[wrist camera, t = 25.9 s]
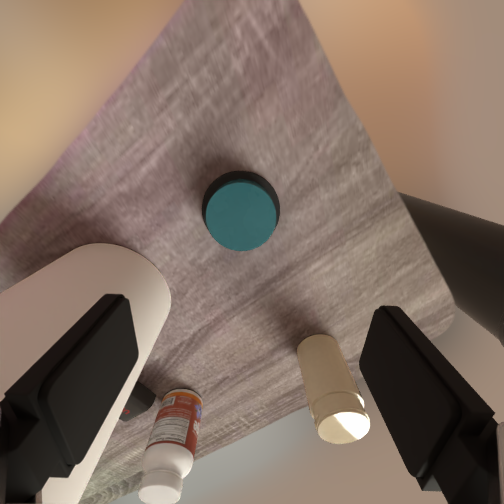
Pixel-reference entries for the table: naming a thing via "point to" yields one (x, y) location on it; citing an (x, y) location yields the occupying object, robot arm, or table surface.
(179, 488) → the pill bottle
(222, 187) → the jar lid
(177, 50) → the table surface
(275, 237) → the table surface
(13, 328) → the canister
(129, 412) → the usb drive
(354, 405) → the jar
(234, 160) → the table surface
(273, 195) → the coaster
